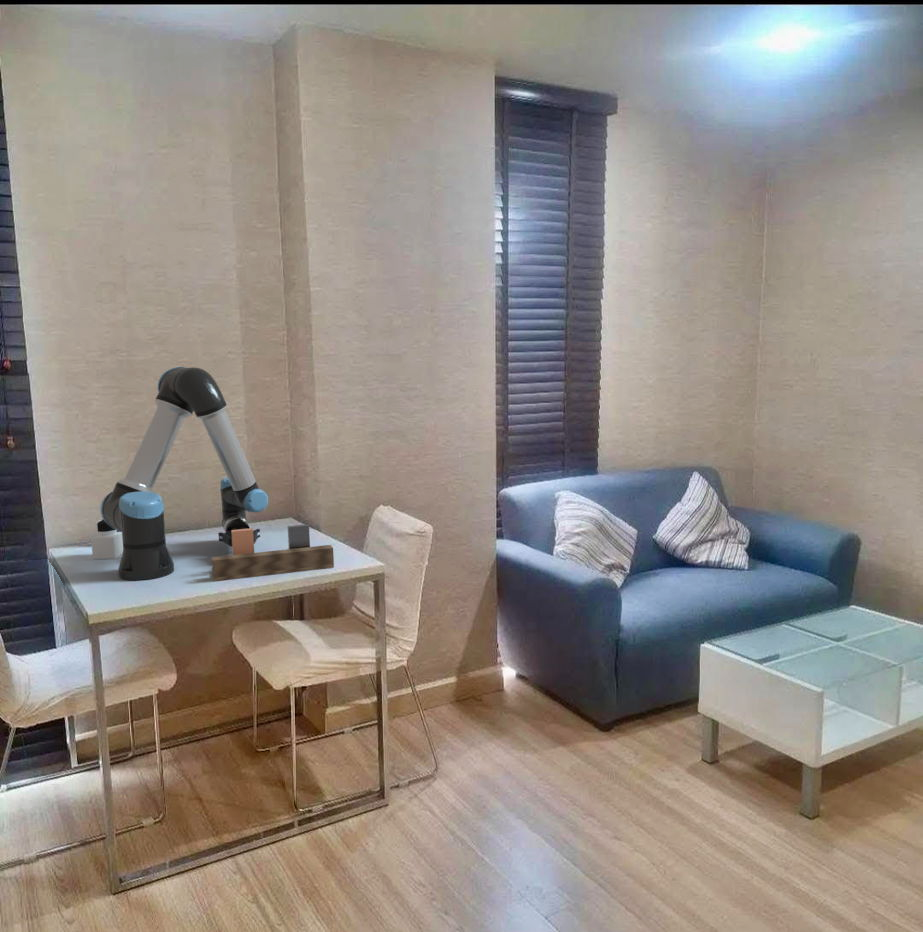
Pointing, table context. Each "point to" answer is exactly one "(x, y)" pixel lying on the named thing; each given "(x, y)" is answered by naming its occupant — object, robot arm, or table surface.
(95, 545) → the medicine bottle
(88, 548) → the table surface
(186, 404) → the robot arm
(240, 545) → the terracotta key
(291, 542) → the grey rectangular slab
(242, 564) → the brown piece
